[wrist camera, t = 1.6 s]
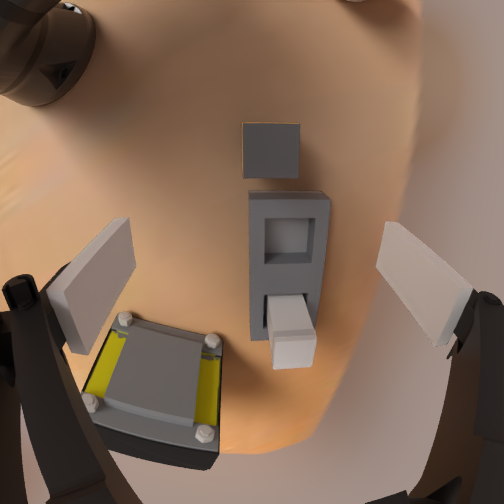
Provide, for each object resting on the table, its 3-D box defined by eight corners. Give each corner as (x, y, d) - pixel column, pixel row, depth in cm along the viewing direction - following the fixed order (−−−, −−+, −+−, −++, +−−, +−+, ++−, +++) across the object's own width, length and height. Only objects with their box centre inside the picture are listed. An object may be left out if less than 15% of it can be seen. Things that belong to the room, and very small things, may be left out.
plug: (241, 122, 31) (241, 122, 21) (281, 122, 31) (300, 123, 21) (241, 160, 33) (242, 178, 23) (280, 160, 33) (299, 179, 23)
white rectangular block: (265, 285, 39) (274, 341, 29) (299, 284, 39) (317, 338, 29) (265, 312, 41) (272, 369, 31) (296, 310, 41) (312, 366, 31)
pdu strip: (248, 190, 34) (249, 199, 31) (322, 191, 35) (331, 199, 31) (249, 322, 43) (250, 340, 39) (308, 319, 43) (314, 337, 40)
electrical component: (226, 331, 44) (223, 447, 26) (213, 371, 48) (207, 473, 30) (117, 303, 41) (68, 407, 23) (117, 347, 45) (82, 442, 27)
